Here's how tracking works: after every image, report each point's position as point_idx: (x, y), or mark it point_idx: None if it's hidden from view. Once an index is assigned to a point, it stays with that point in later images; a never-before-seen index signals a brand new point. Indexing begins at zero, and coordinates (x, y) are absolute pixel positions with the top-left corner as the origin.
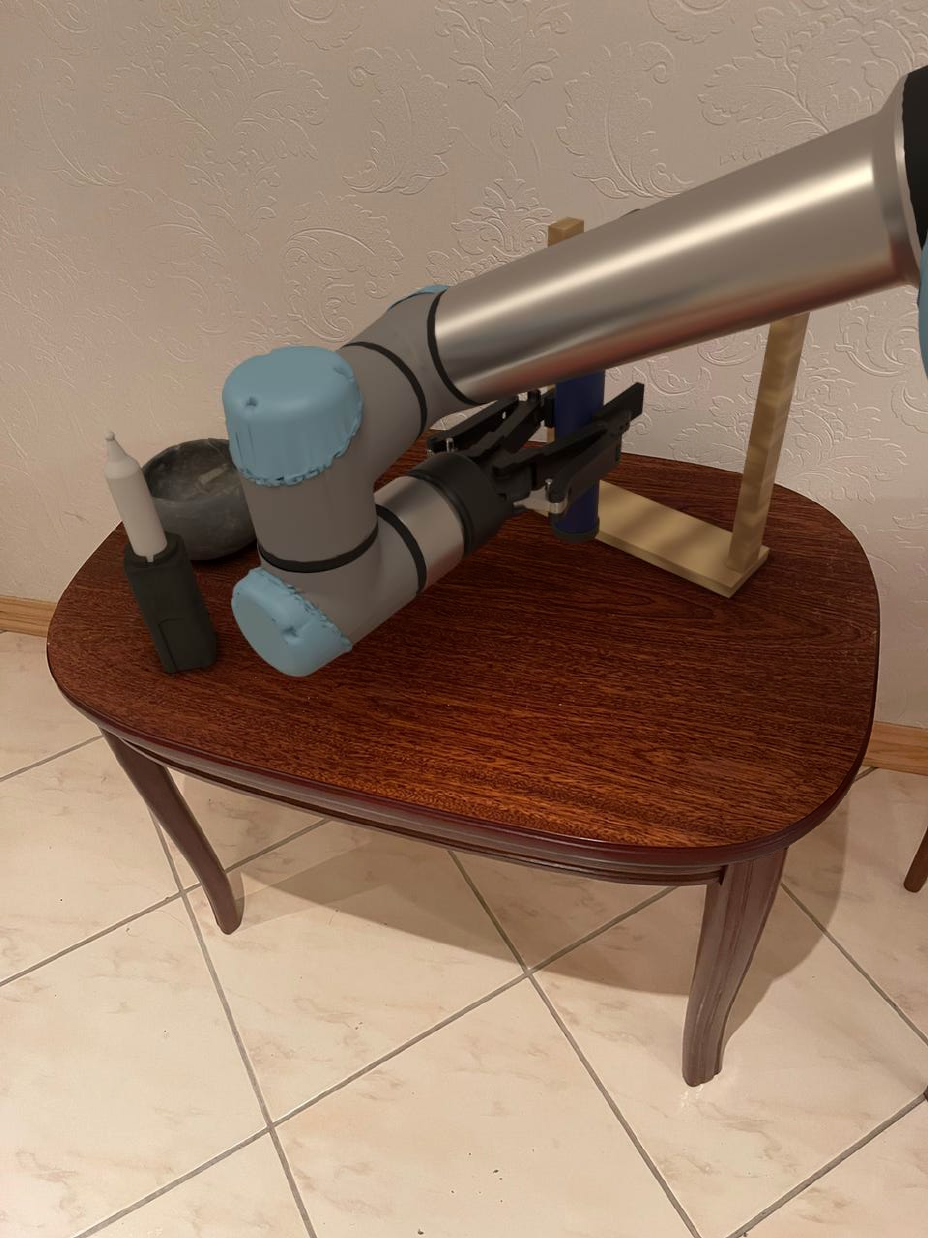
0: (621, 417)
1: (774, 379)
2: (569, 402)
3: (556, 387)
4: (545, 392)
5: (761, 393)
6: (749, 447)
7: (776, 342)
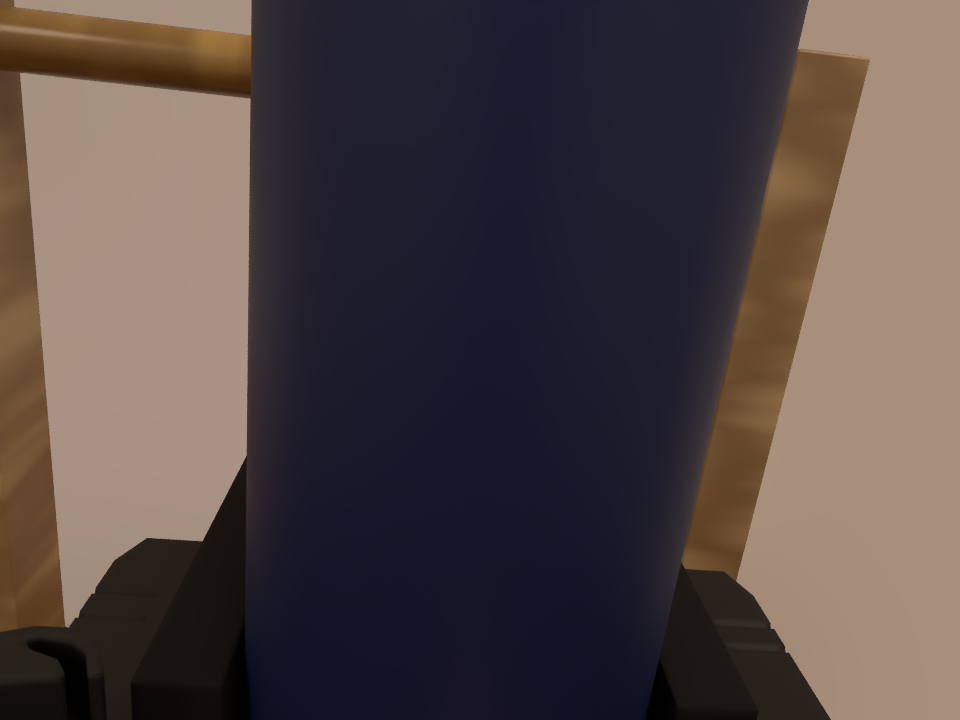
0: (756, 636)
1: (771, 354)
2: (529, 688)
3: (340, 570)
4: (81, 613)
5: (731, 401)
6: (689, 557)
7: (785, 245)
